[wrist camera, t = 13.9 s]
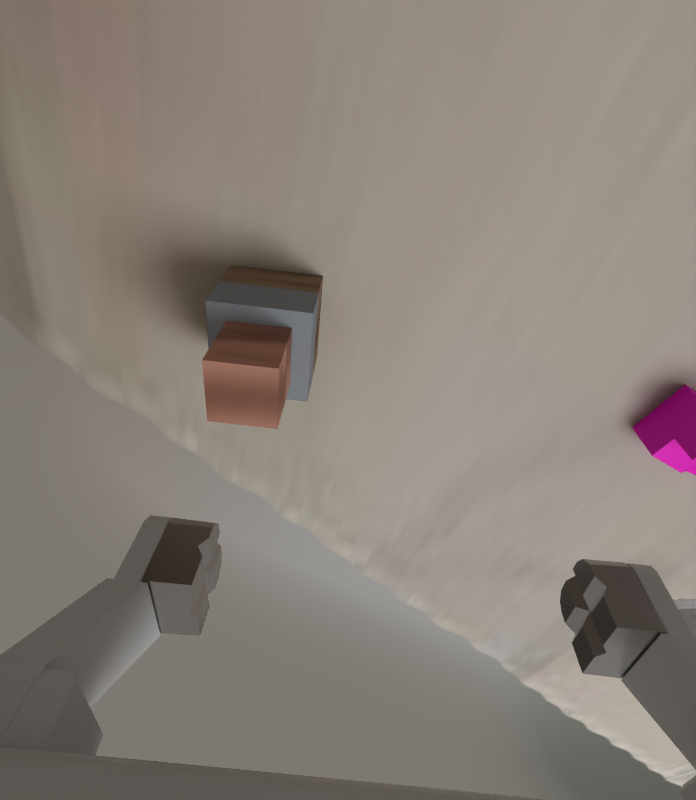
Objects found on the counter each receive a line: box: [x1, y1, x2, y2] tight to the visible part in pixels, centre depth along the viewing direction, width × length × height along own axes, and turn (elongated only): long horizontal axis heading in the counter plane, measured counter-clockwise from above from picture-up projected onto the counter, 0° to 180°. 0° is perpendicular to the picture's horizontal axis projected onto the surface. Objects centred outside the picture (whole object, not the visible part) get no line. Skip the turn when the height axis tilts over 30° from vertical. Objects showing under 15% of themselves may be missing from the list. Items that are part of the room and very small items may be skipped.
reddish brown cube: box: [202, 321, 292, 429], centre depth 35 cm, size 5×5×6 cm
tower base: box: [220, 266, 323, 372], centre depth 42 cm, size 8×8×4 cm
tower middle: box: [205, 281, 319, 401], centre depth 39 cm, size 8×8×4 cm
